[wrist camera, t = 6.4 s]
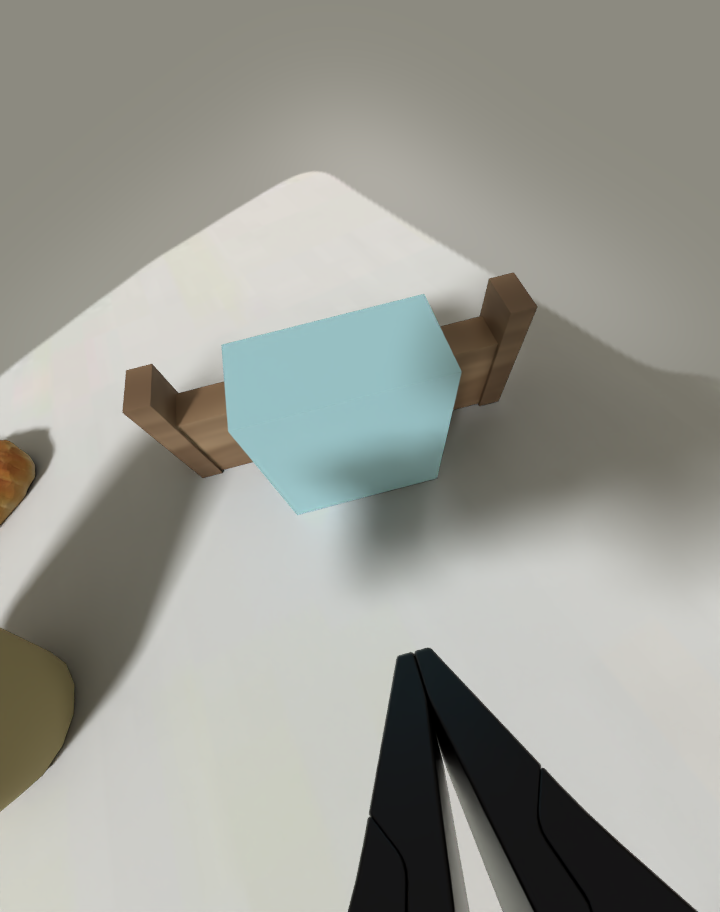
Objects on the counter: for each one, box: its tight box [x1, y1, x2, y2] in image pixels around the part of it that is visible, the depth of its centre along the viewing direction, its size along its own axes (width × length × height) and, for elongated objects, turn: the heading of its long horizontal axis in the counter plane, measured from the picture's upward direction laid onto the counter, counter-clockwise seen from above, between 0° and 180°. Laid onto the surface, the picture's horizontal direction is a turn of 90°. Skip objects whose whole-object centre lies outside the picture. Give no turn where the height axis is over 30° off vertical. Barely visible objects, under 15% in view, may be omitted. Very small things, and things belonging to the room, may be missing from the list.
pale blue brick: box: [222, 294, 462, 515], centre depth 18 cm, size 8×8×9 cm
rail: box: [123, 273, 537, 478], centre depth 19 cm, size 2×18×7 cm, turn 104°
